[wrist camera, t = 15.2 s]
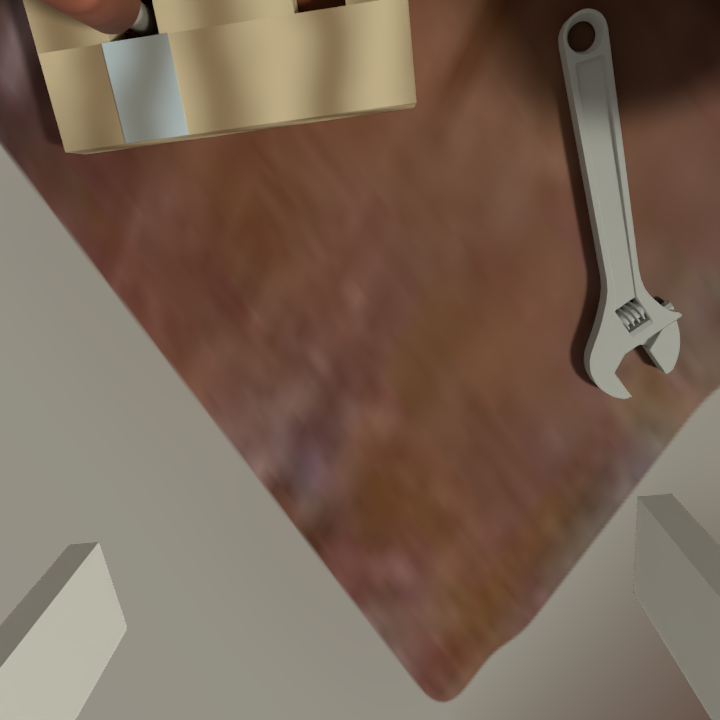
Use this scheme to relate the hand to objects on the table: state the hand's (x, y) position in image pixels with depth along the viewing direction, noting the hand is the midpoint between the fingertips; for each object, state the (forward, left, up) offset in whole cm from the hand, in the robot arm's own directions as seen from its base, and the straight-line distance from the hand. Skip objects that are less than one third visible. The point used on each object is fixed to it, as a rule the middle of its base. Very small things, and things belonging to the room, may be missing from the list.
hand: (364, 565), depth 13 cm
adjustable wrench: (-17, -4, -27) cm, 32 cm away
